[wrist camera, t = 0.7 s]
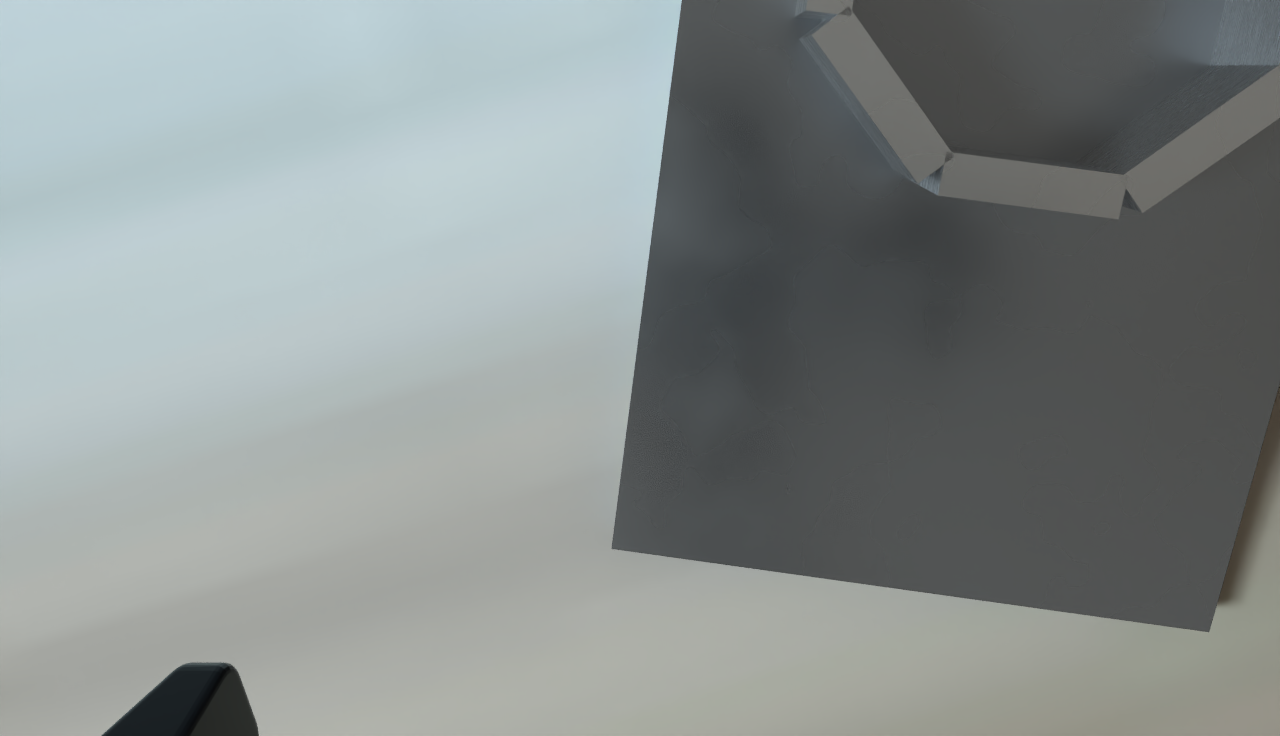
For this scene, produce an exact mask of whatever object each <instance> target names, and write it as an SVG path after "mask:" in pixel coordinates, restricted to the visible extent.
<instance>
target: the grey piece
mask: <svg viewBox="0 0 1280 736" xmlns="http://www.w3.org/2000/svg"><path fill="white" fill-rule="evenodd" d="M1279 384H1280V0H682V4H681V12H680V20H679V28H678V35H677V43H676V51H675V59H674V67H673V74H672V82H671V90H670V98H669V106H668V113H667V121H666V129H665V137H664V145H663V152H662V160H661V168H660V176H659V183H658V191H657V199H656V207H655V215H654V222H653V230H652V238H651V246H650V254H649V261H648V269H647V277H646V285H645V293H644V300H643V308H642V316H641V324H640V331H639V339H638V347H637V355H636V363H635V370H634V378H633V386H632V394H631V402H630V409H629V417H628V425H627V433H626V441H625V448H624V456H623V464H622V472H621V479H620V487H619V495H618V503H617V511H616V518H615V526H614V534H613V542H612V549H617V550H624V551H631V552H639V553H646V554H653V555H660V556H667V557H674V558H682V559H689V560H696V561H703V562H710V563H717V564H725V565H732V566H739V567H746V568H753V569H760V570H768V571H775V572H782V573H789V574H796V575H803V576H811V577H818V578H825V579H832V580H839V581H846V582H853V583H861V584H868V585H875V586H882V587H889V588H896V589H904V590H911V591H918V592H925V593H932V594H939V595H947V596H954V597H961V598H968V599H975V600H982V601H990V602H997V603H1004V604H1011V605H1018V606H1025V607H1033V608H1040V609H1047V610H1054V611H1061V612H1068V613H1076V614H1083V615H1090V616H1097V617H1104V618H1111V619H1119V620H1126V621H1133V622H1140V623H1147V624H1154V625H1162V626H1169V627H1176V628H1183V629H1190V630H1197V631H1205V632H1209V631H1210V627H1211V624H1212V620H1213V616H1214V613H1215V609H1216V606H1217V602H1218V599H1219V595H1220V592H1221V588H1222V585H1223V581H1224V578H1225V574H1226V571H1227V567H1228V564H1229V560H1230V557H1231V553H1232V550H1233V546H1234V543H1235V539H1236V536H1237V532H1238V529H1239V525H1240V522H1241V518H1242V515H1243V511H1244V508H1245V504H1246V500H1247V497H1248V493H1249V490H1250V486H1251V483H1252V479H1253V476H1254V472H1255V469H1256V465H1257V462H1258V458H1259V455H1260V451H1261V448H1262V444H1263V441H1264V437H1265V434H1266V430H1267V427H1268V423H1269V420H1270V416H1271V413H1272V409H1273V406H1274V402H1275V399H1276V395H1277V391H1278V388H1279Z"/></svg>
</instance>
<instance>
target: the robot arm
mask: <svg viewBox="0 0 1280 736" xmlns="http://www.w3.org/2000/svg"><path fill="white" fill-rule="evenodd" d="M102 736H259V734H258V727H257V723H256V720H255V717H254V715H253V712H252V709H251V706H250V703H249V701H248V698H247V695H246V692H245V690H244V687H243V684H242V681H241V678H240V676H239V674H238V672H237V670H236V669H235V668H234V667H233V666H232V665H231V664H228V663H187V664H184V665H182V666H180V667H178V668H177V669H175V670H174V671H173V672H172V673H171V674H169V675H168V676H167V677H166V678H165V679H164V680H163V681H162V682H161V683H159V684H158V685H157V686H156V687H155V688H154V689H153V690H152V691H151V692H149V693H148V694H147V695H146V696H145V697H144V698H143V699H142V700H141V701H139V702H138V703H137V704H136V705H135V706H134V707H133V708H132V709H131V710H129V711H128V712H127V713H126V714H125V715H124V716H123V717H122V718H121V719H119V720H118V721H117V722H116V723H115V724H114V725H113V726H112V727H111V728H109V729H108V730H107V731H106V732H105V733H104V734H103V735H102Z"/></svg>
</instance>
